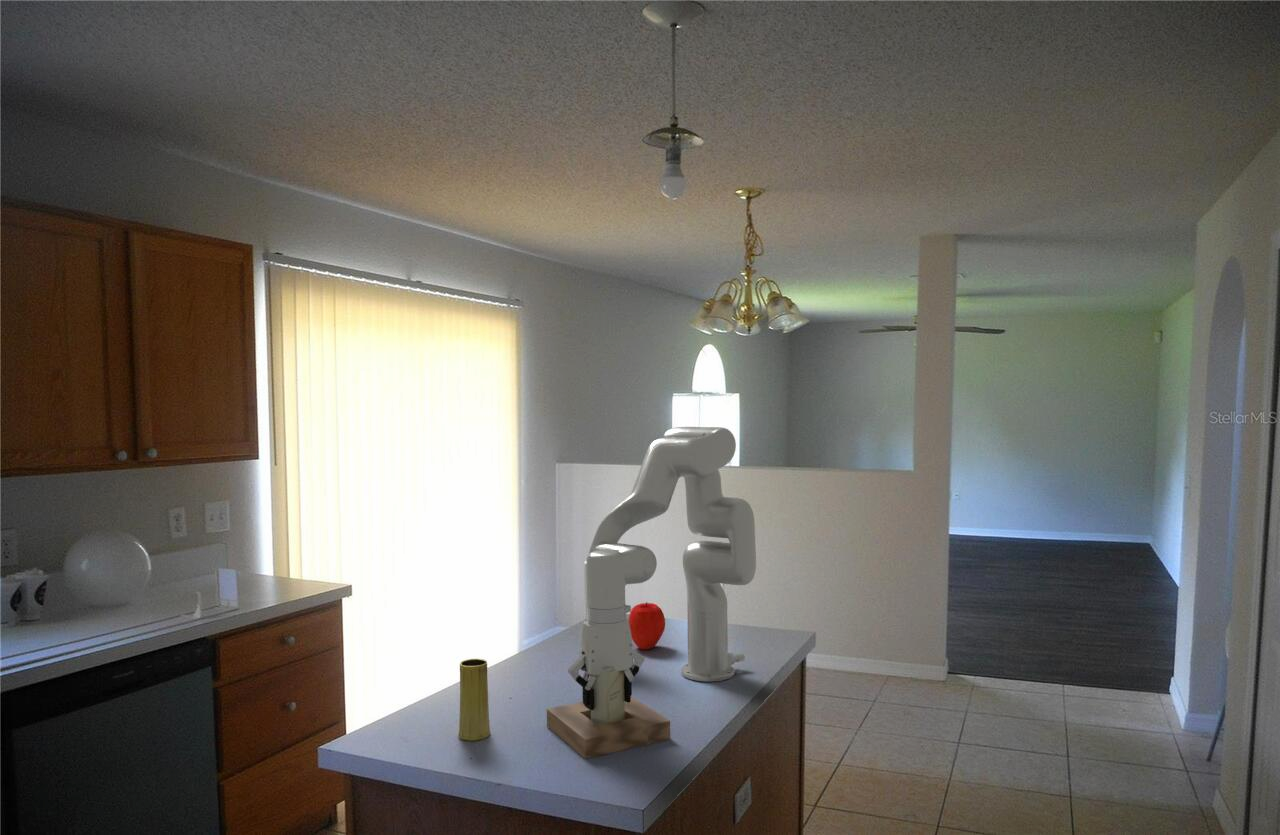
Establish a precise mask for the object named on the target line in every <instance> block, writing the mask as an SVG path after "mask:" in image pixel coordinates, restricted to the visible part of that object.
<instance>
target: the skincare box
mask: <svg viewBox="0 0 1280 835" xmlns="http://www.w3.org/2000/svg"><path fill="white" fill-rule="evenodd" d="M592 689H593V690H594V710H591V721H593V722H594V723H595V724H597V725H602V724H606V723H611V722H616V721H620V720H625V703H624V672H623V671H621V672H615V668H614V667H613V668H606V669H602V674H601V675H599V676H596V678H595V681H594V683H593V685H592Z"/></svg>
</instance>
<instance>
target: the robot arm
mask: <svg viewBox="0 0 1280 835" xmlns="http://www.w3.org/2000/svg"><path fill="white" fill-rule="evenodd" d="M736 447H737V442H736V438H735V436H734V434H733V433H732V431H731V430H730V429H729V428H728V429H727V428H726V427H718V426H717V427H716V426H711V427H709V426H678V427H672V428H670V429H667V431H665V433H664V434H663V437H661V438H657V439H655V440H653V441H652V442H651V443H650V444H649V446H648V448H647V450H646V452H645V455H644V458H643V461H642V463H641V466H640V469H639V471H638V474H637V477H636V479H635V482H634V485H633V487H632V491H631V492H630V495H629V496H628V497H627V498H626V499H624V500H623V501H622V502H620V503H619V504H617V506H615V507H614V508H613V509H611V511H609V513H607V515H606V516H605V517H603V519H602V521H601V522H600V524H598V527H597V529H596V531H595V535H594V537H593V539H592V542H591V545H590V548H589V552H588V555H587V557H586V561H587V621H585V620H584V621H583V623H582V627H581V632H580V640H579V649H578V650H579V652H578V654H579V655H578V658H577V659H576V661H575V662H573V664H572V665H571V666H569V668H568V669H567V672H568V674H569V675H570V676H571V677H572V678H573V680H574V681H575V682H576V683H578V684H579V685H580V687H582V702H583V704H584V705H585V707H587V708H588V709H589V710H594V690H593V689H592V685H593V683H594V681H595V678H596V676H599V675H601V674H602V669H606V668H613V667H614V668H615V672H621V671H623V672H624V701H626V702H627V703H628V702H631V697H632V695H633V691H632V690H633V688H632V687H633V686H632V685H633V684H632V682H634V680H635V677H636V675H637V674H638V672H639V671H640V668H641V667H642V665H643V663H644V662H645V657H644V656H642V655H641V654H640V653H638V652H637V651H636V650H634V647H633V640H632V636H631V630H630V626H629V622H628V620H629V618H627V613H630V612H631V610H632V606H631V605H630V604H628V605H627V603H626V585H635V584H643V583H644V582H647V581H649V580H650V579H651V578H652V577H653V576H654V575H655V572H656V570H657V566H658V564H657V563H658V562H657V557H656V555H655V553H654V551H653V550H651V549H650V548H648V547H646V546H642V545H638V544H636V545H635V544H628V543H619V541H620V540H621V538H622V536H624V534H625V533H626V532H628V531H629V530H631V529H632V528H634V527H635V526H637V525H640V524H642V523H645V522H647V521H650V520H653V519H655V518H657V517H659V516H661V515H663V514H665V513H666V512H667V511H668V509H669V507H670V504H671V501H672V498H673V495H674V492H675V490H676V486H677V484H678V481H679V479H680V478H684V485H685V500H686V501H685V503H686V518H687V526H688V530H690V532H691V533H692V534H693V535H696V536H699V537H700V536H701V537H707V538H718V539H727V540H728V542H722V541H714V540H697V541H693V542H691V543H689V544H688V545H687V546H686V547H685V549H684V551H683V554H682V566H683V567H682V568H683V572H684V576H685V582H686V596H687V597H686V598H687V599H686V600H687V608H686V609H687V663H686V664H684V665H683V666H682V667H681V674H682V676H684V678H686V679H689V680H693V681H697V682H707V683H708V682H709V683H710V682H721V681H725V680H729V679H731V678H732V677H734V675H735V668H734V666H733V665H734V664H735V663H740V662H744V661H745V660H746V659H745V658H746V656H745V654H744V653H743V652H742V653H734V652H729V651H728V650H729V647H728V646H729V644H728V643H729V642H728V640H729V636H728V634H729V633H728V632H729V630H728V628H729V627H728V600H727V599H728V598H727V595H726V593H725V590H724V588H723V587H722V585H721V584H723V585H730V586H731V585H732V586H734V585H735V586H746V585H749V584H750V583H752V581H753V580H754V578H755V574H756V569H757V551H756V546H757V545H756V530H755V529H756V528H755V527H756V526H755V524H756V523H755V515H754V511H753V509H752V506H751V505H750V503H749V502H748V501H747V500H745V499H743V498H739V497H728V496H724V495H723V491H722V478H721V474H720V473H721V472H720V469H721V468H723V467H725V466H727V465H728V464H729V463H730V462H731V460H732V459H733V458H734V456H735V453H736V449H737V448H736ZM580 670H581V671H583V672H584V673H583V675H580V672H579V671H580Z"/></svg>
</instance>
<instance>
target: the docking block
mask: <svg viewBox="0 0 1280 835" xmlns="http://www.w3.org/2000/svg"><path fill="white" fill-rule="evenodd" d="M624 703H625V720H620V721H616V722H611V723H606V724H602V725H597V724H595V723H594V722H593V721H591V710H589V709H588V708H587V707H585V705H584V704H583V701H580V702H575V703H570V704H565V705H560V706H555V707H551V708H549V707H548V708H546V727H547V728H548V727H549V728H550V729H549V730H551V731H552V732H553V733H554V734H555V733H556V736H558V737H559V738H560V739H561V740H563V741H564V742H565V743H566V744H567V745H569V747H571V748H572V749H573V750H574V751H575V752H577V754H579V755H580V756H581V757H583V758H584V759H585V760H586V759H590V758H594V757H598V756H603V755H608V754H611V753H617V752H621V751H624V750H628V749H633V748H638V747H641V746H645V745H650V744H655V743H658V742H663V741H667V740H671V720H670V719H667V717H664V716H663V715H662V714H660V713H659V712H657V711H655V710H654V709H652V708H650V707H648V705H645V704H644V703H642V702H641V701H639V700H637V699H636V698H635V697H633V696H631V702H628V703H627V702H626V701H624Z"/></svg>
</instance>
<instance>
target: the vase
mask: <svg viewBox="0 0 1280 835" xmlns="http://www.w3.org/2000/svg"><path fill="white" fill-rule="evenodd" d="M488 682H489V681H488V662H487V660H486V659H483V658H470V659H465V660H462V661H461V662H460V663H459V726H458V727H459V729H458V734H457V735H458V738H459V739H460V740H463V741H467V742H468V741H469V742H474V741H481V740H485V739H486V738H488V737H489V736H490V735H491V731H490V730H491V728H490V712H489V688H488V687H489V685H488Z"/></svg>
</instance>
